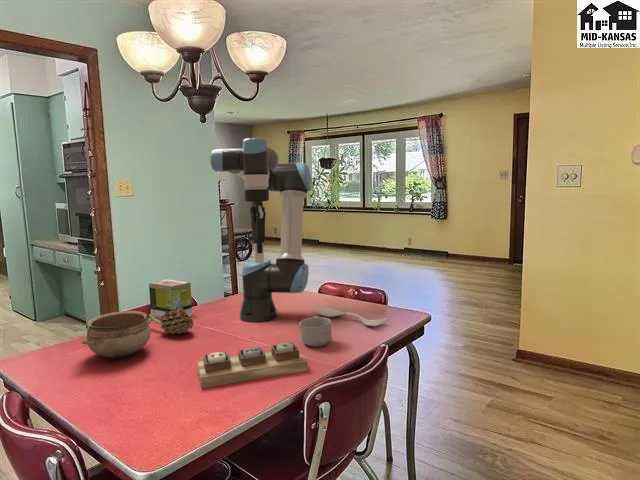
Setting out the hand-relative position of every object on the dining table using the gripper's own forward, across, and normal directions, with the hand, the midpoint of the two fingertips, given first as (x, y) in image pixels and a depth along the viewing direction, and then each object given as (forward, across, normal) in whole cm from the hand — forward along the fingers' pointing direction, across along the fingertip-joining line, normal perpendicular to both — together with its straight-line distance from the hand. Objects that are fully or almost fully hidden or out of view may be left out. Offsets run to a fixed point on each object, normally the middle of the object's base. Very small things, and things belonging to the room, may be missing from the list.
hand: (259, 262), depth 140 cm
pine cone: (+30, -31, -29) cm, 52 cm away
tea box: (+30, -53, -28) cm, 67 cm away
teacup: (+30, -1, +19) cm, 35 cm away
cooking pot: (+30, -14, -44) cm, 55 cm away
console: (+29, +14, -6) cm, 33 cm away
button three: (+26, +14, -6) cm, 30 cm away
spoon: (+30, -19, +39) cm, 53 cm away
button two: (+26, +14, -16) cm, 34 cm away
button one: (+26, +14, +4) cm, 30 cm away
